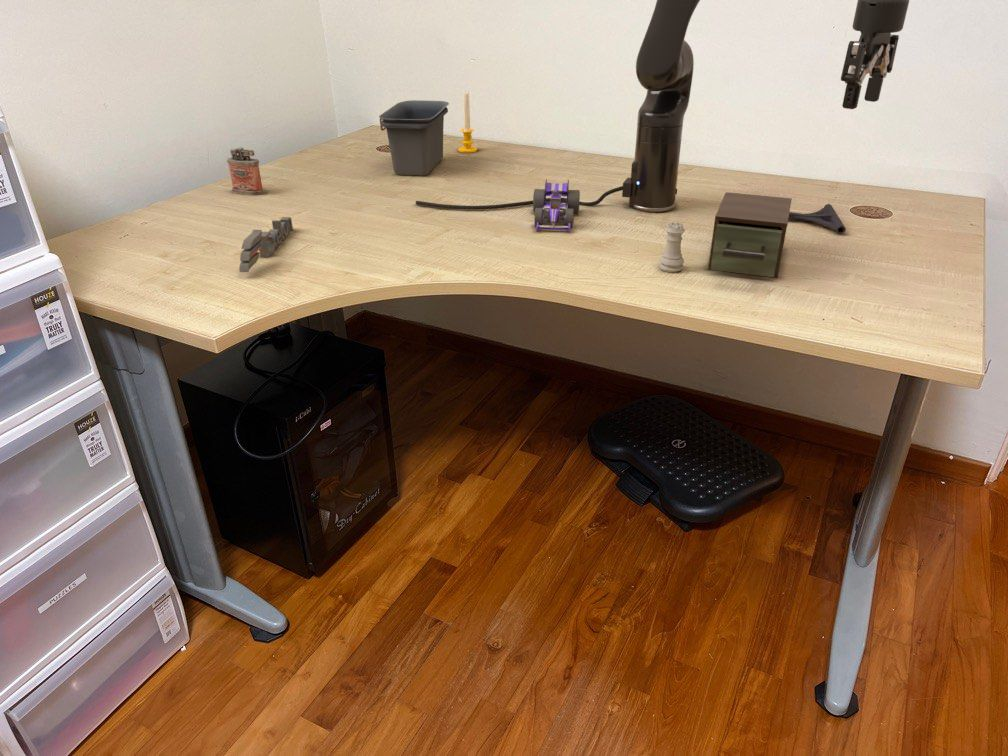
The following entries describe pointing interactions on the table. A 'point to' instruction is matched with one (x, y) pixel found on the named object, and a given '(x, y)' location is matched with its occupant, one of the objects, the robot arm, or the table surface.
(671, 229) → the rook chess piece
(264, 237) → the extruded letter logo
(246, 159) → the lighter
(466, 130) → the candle
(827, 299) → the table surface
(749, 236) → the drawer
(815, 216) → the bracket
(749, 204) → the cabinet
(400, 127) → the storage bin
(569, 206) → the toy race car
